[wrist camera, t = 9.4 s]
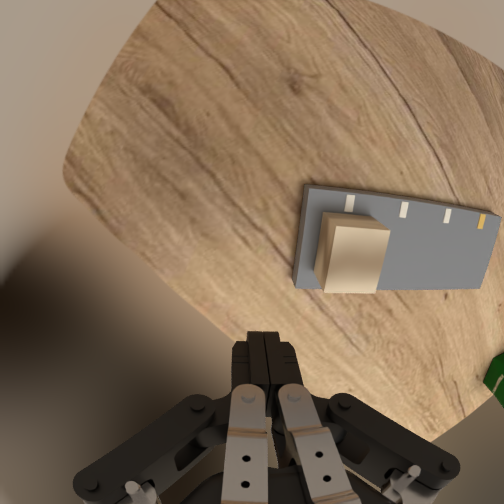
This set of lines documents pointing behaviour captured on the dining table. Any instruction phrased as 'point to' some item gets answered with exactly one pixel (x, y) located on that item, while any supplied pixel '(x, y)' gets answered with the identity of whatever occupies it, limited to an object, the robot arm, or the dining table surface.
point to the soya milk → (496, 378)
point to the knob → (350, 253)
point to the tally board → (404, 238)
